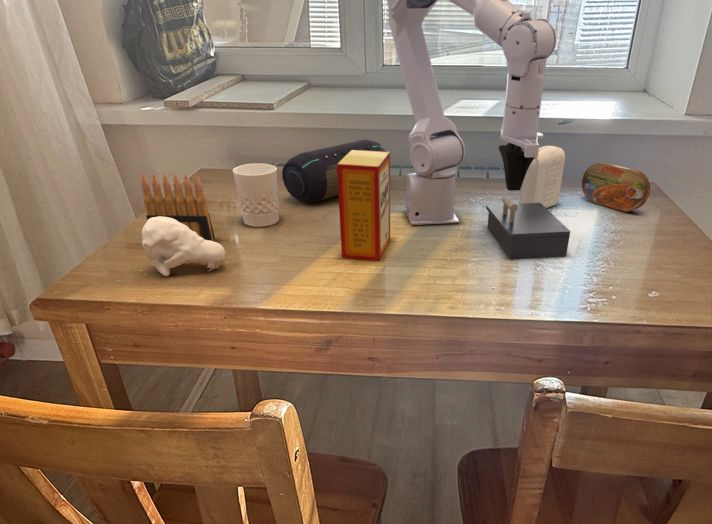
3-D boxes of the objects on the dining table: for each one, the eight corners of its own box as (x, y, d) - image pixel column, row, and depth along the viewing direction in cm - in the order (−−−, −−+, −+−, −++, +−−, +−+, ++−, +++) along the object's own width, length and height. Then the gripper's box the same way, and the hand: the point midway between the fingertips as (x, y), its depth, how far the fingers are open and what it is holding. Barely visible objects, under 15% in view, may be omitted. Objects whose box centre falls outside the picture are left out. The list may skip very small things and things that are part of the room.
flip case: (510, 259, 99) (512, 238, 97) (487, 227, 112) (488, 208, 110) (566, 256, 101) (569, 235, 99) (537, 225, 113) (539, 206, 111)
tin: (578, 198, 128) (584, 159, 123) (586, 195, 130) (593, 157, 125) (638, 216, 118) (648, 175, 114) (647, 213, 120) (656, 172, 116)
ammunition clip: (215, 239, 104) (203, 172, 97) (212, 243, 102) (200, 175, 96) (155, 239, 104) (138, 171, 97) (151, 243, 102) (134, 175, 96)
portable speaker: (309, 211, 117) (305, 161, 112) (279, 200, 123) (274, 152, 118) (395, 185, 133) (395, 140, 128) (366, 176, 139) (364, 133, 133)
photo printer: (544, 199, 127) (552, 140, 120) (560, 204, 124) (570, 144, 118) (515, 209, 121) (522, 148, 114) (532, 215, 118) (540, 153, 112)
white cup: (232, 224, 110) (223, 171, 105) (256, 211, 117) (249, 161, 111) (267, 230, 108) (260, 177, 103) (290, 217, 114) (284, 166, 109)
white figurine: (147, 209, 91) (226, 216, 92) (154, 259, 95) (229, 265, 97) (134, 224, 86) (218, 230, 87) (142, 276, 90) (222, 281, 92)
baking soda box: (355, 237, 106) (351, 147, 98) (390, 239, 106) (389, 149, 97) (341, 257, 98) (336, 162, 90) (379, 260, 98) (377, 164, 89)
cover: (509, 238, 97) (511, 214, 95) (485, 208, 110) (487, 187, 107) (569, 235, 99) (573, 211, 96) (539, 206, 111) (542, 184, 109)
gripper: (562, 114, 88) (549, 202, 95) (532, 97, 100) (522, 176, 107) (517, 115, 87) (508, 203, 94) (492, 97, 99) (485, 177, 106)
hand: (513, 189), depth 101 cm, fingers closed
